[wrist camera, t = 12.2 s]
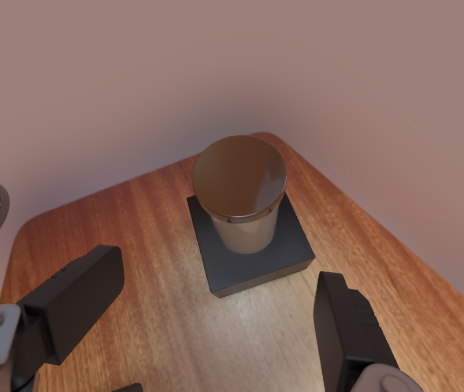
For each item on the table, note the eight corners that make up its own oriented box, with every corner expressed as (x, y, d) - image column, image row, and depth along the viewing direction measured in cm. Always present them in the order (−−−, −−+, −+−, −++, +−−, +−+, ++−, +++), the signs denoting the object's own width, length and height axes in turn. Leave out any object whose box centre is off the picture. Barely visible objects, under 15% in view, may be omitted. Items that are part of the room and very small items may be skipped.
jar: (224, 265, 22) (204, 231, 14) (207, 207, 24) (182, 150, 16) (288, 244, 22) (303, 198, 14) (264, 189, 25) (267, 123, 17)
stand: (219, 298, 26) (210, 292, 21) (197, 216, 30) (186, 197, 25) (306, 268, 26) (315, 257, 22) (272, 192, 30) (275, 169, 26)
